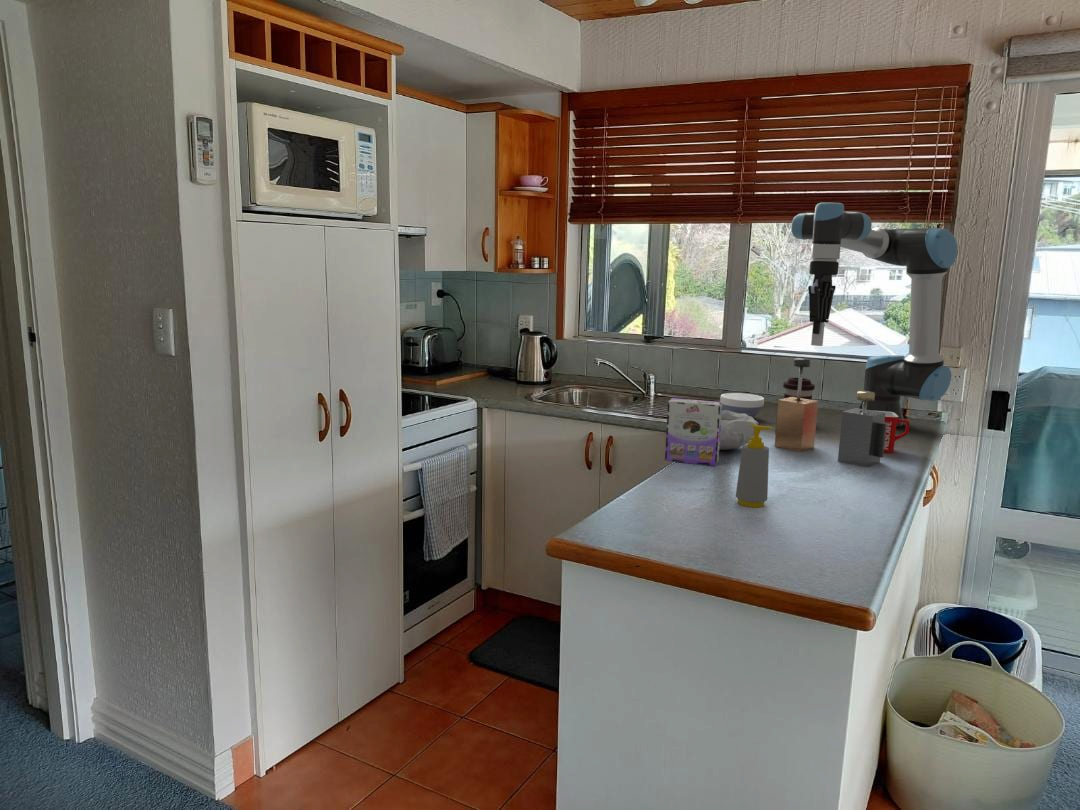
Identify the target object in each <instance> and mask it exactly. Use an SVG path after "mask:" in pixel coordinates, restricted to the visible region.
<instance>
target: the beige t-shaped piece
mask: <svg viewBox="0 0 1080 810" xmlns="http://www.w3.org/2000/svg"><path fill="white" fill-rule="evenodd" d="M874 398H875V393H874V392H869V391H864V390H858V391H857V393H856V400H858V401H863V408H862V413H866V408H867V401H874Z"/></svg>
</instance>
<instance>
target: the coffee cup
mask: <svg viewBox="0 0 1080 810" xmlns="http://www.w3.org/2000/svg"><path fill="white" fill-rule="evenodd" d="M798 380H799V377H788V380H787V381H784V382H783V384H782V385H783V386H782V387H783V388H784V393H783V399H784V398H789V397H797V391H798ZM814 390H815V384H814V383H812V381H811V379H809V378H804V377H802V387H801V398H803V399H810V400H813V391H814Z"/></svg>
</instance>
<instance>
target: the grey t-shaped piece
mask: <svg viewBox="0 0 1080 810" xmlns="http://www.w3.org/2000/svg"><path fill="white" fill-rule="evenodd" d="M793 366H794V367H799V370H798V372H799V373H798V378H799V380H798V391H797V401H800V398H801V387H802V378H803V376H804V375H803V374H804V368H810V367H811V359H810V358H803V357H794V359H793Z"/></svg>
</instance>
